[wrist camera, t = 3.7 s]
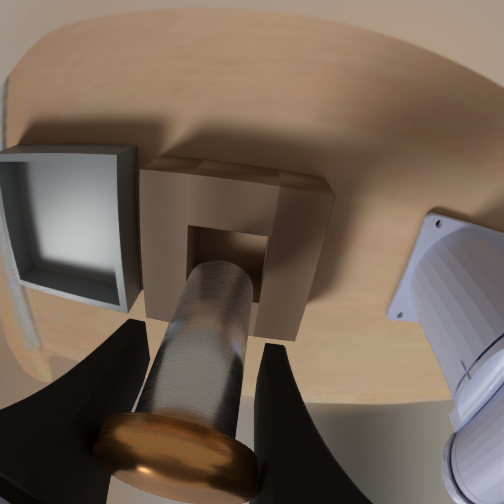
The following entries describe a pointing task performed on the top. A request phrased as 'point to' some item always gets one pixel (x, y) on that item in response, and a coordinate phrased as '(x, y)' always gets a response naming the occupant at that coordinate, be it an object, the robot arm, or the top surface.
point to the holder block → (238, 220)
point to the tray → (73, 220)
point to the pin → (191, 400)
